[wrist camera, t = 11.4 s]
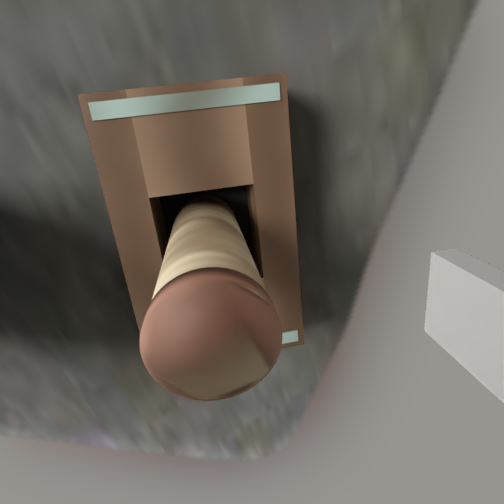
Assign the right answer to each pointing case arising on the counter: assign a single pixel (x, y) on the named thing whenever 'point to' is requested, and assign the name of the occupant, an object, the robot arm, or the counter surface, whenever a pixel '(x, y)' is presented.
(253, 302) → the dowel
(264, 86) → the socket board
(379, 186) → the counter surface
